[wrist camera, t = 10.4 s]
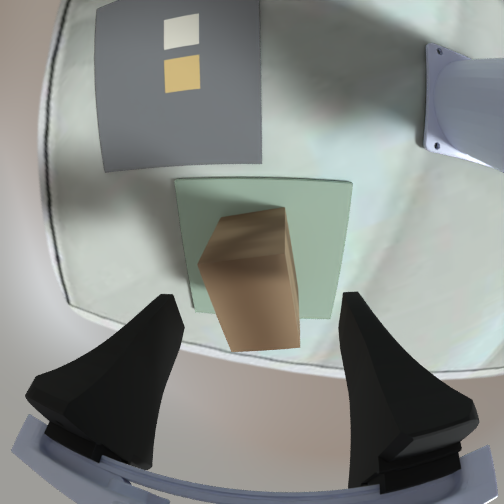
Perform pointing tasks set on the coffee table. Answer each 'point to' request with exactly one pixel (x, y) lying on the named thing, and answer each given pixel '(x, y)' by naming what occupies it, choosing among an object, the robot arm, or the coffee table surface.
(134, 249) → the coffee table surface
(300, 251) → the mat
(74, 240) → the coffee table surface
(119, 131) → the grey flat rectangular plate
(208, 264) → the walnut block
